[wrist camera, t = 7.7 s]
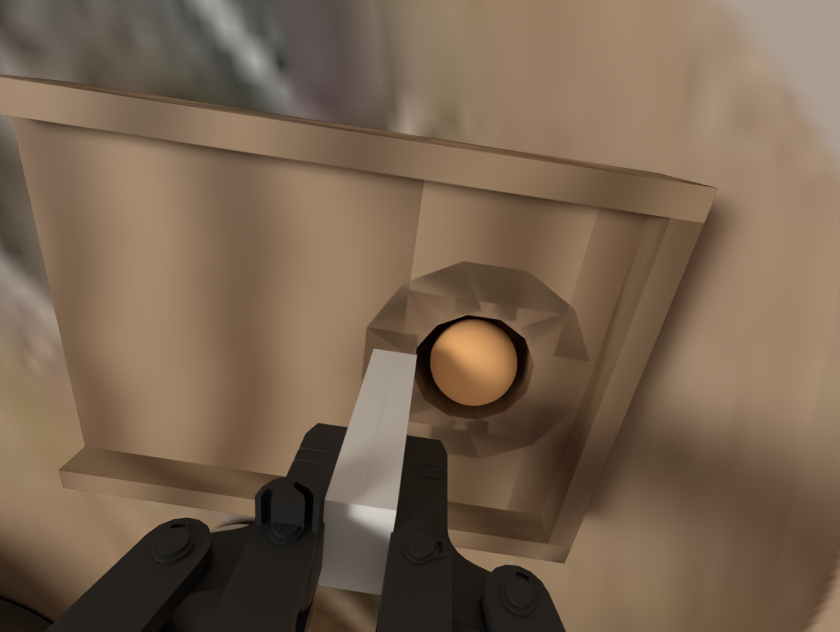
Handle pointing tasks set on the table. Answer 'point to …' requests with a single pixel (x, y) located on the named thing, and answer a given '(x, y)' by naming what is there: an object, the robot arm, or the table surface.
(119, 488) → the board
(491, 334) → the ball
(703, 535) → the table surface
